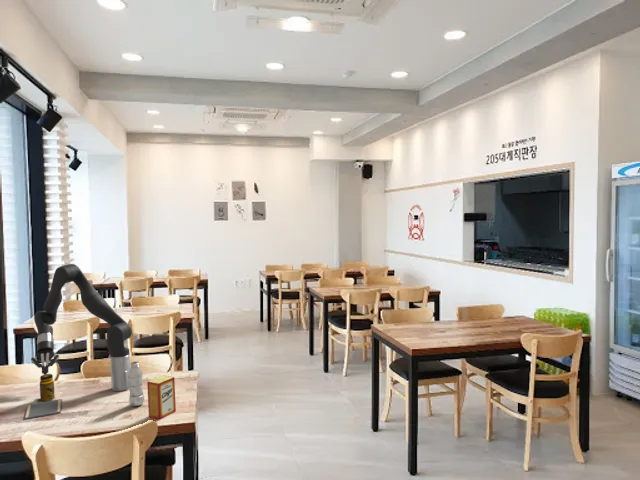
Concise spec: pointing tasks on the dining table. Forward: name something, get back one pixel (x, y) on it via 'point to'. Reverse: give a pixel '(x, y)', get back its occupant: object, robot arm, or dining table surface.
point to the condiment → (46, 389)
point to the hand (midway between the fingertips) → (45, 373)
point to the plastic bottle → (135, 385)
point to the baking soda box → (161, 397)
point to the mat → (43, 409)
